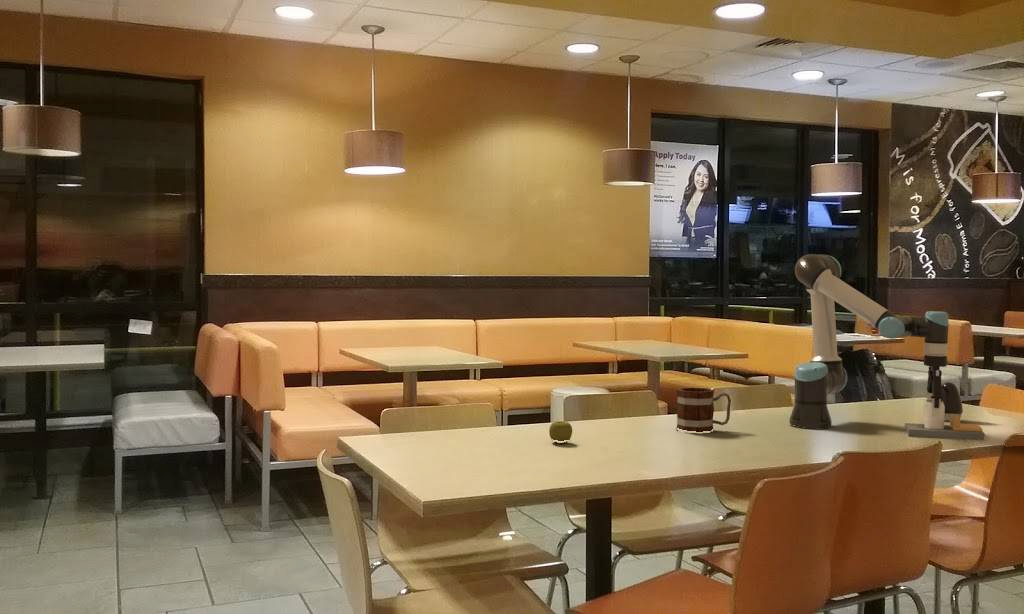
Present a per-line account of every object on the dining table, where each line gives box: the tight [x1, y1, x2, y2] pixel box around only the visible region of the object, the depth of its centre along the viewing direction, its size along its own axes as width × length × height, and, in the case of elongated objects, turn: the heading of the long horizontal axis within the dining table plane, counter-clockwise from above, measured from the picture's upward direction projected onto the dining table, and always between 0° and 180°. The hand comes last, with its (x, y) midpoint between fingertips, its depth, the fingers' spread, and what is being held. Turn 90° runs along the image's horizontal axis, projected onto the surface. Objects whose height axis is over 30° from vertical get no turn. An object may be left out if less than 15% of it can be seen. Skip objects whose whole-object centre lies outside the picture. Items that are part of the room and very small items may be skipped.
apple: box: [548, 421, 573, 441], centre depth 307 cm, size 8×8×7 cm
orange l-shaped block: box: [949, 414, 983, 432], centre depth 322 cm, size 9×9×4 cm
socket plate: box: [904, 422, 985, 441], centre depth 325 cm, size 24×14×2 cm, turn 72°
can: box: [923, 399, 945, 429], centre depth 326 cm, size 6×6×12 cm
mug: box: [676, 387, 732, 432], centre depth 332 cm, size 20×14×15 cm
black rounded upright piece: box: [941, 381, 964, 423], centre depth 356 cm, size 10×10×15 cm
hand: (933, 414), depth 326 cm, fingers open, 13 cm apart
